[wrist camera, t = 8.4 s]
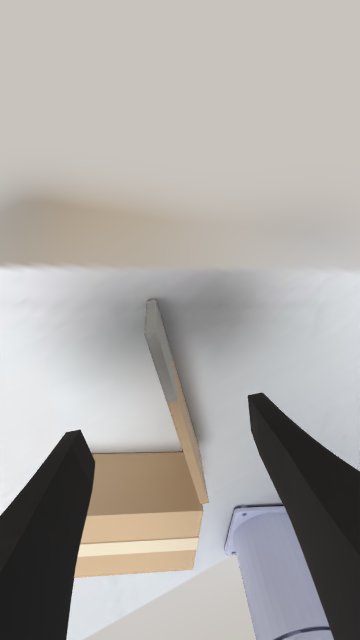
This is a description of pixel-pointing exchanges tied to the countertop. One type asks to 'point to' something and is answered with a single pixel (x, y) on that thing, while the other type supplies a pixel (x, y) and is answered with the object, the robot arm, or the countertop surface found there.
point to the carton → (140, 516)
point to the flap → (174, 395)
